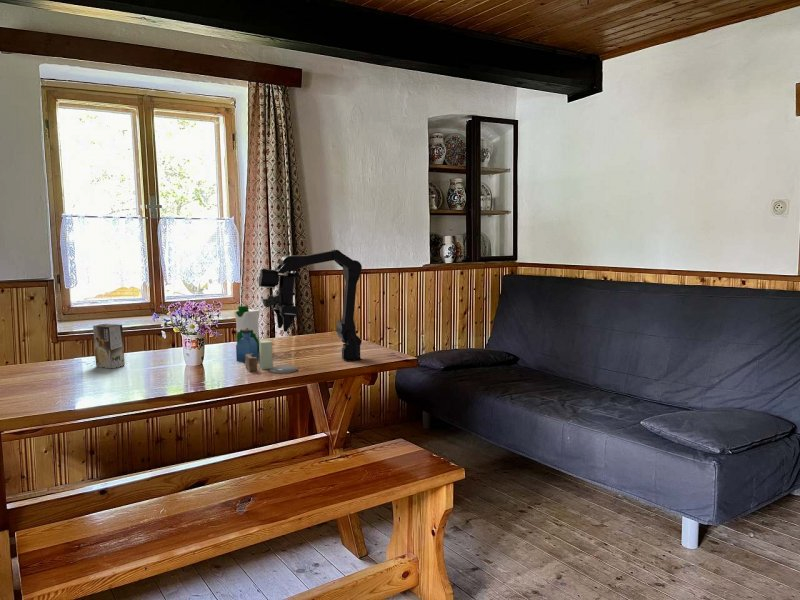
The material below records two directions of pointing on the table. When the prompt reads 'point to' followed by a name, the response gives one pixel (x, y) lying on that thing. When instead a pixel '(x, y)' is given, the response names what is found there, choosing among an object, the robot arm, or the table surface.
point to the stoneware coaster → (283, 369)
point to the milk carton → (247, 322)
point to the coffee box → (109, 345)
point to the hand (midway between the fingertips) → (282, 329)
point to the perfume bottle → (246, 346)
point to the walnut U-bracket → (250, 362)
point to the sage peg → (265, 354)
